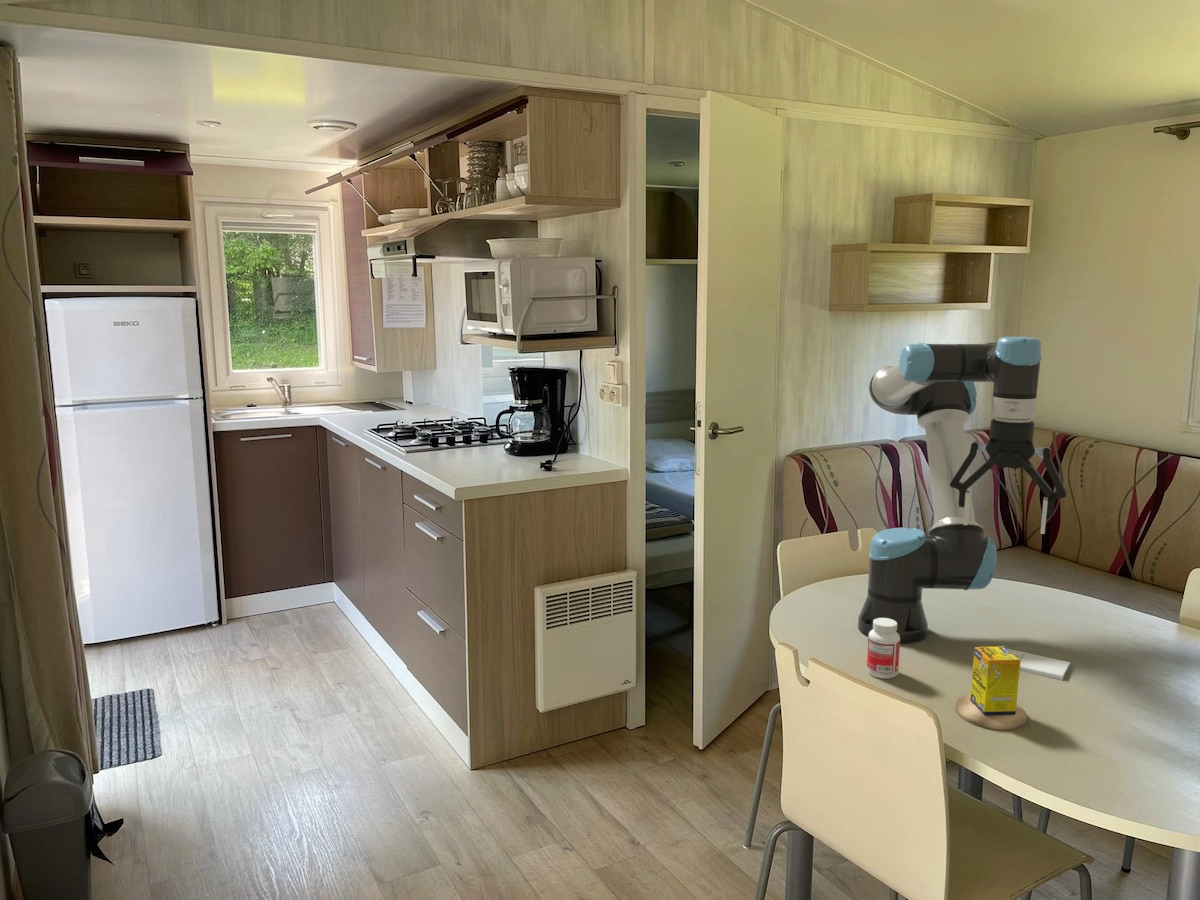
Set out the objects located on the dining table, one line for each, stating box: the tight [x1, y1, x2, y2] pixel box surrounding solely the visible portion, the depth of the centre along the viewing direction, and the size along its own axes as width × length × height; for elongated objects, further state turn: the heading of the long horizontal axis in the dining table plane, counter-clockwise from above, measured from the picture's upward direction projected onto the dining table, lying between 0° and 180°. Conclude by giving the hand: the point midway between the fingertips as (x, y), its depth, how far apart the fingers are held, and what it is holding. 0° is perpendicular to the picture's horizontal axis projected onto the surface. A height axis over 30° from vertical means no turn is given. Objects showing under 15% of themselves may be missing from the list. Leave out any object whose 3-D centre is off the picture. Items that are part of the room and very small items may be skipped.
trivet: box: [955, 694, 1028, 731], centre depth 165 cm, size 12×12×1 cm
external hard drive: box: [1007, 648, 1071, 681], centre depth 186 cm, size 2×8×12 cm
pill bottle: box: [866, 618, 901, 680], centre depth 181 cm, size 6×6×11 cm
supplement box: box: [970, 646, 1021, 716], centre depth 164 cm, size 6×6×11 cm
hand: (1003, 527), depth 173 cm, fingers open, 13 cm apart
